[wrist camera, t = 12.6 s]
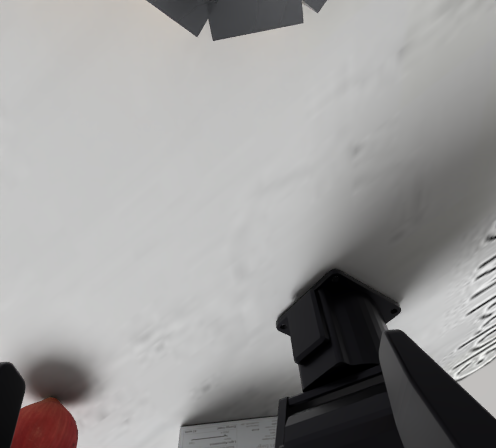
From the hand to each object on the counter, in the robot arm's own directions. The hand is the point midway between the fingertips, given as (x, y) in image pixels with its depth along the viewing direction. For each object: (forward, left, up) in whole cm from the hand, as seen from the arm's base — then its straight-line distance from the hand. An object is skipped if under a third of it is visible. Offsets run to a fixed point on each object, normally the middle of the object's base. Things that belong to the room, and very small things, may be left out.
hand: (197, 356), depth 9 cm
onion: (-1, +27, -13) cm, 30 cm away
